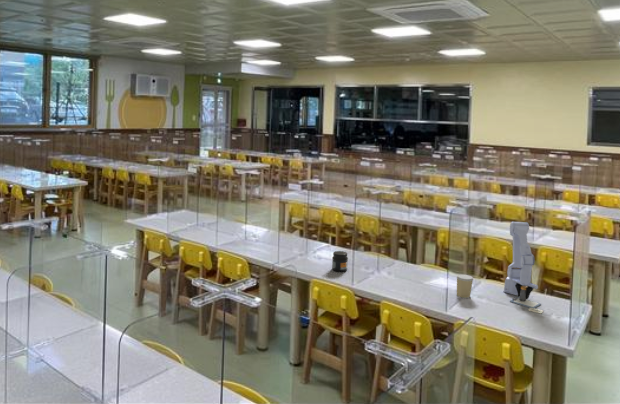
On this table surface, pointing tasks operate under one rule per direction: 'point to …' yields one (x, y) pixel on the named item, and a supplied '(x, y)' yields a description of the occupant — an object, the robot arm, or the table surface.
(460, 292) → the coffee cup
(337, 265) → the supplement container
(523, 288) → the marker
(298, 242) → the table surface
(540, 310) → the word card
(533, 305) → the clipboard
